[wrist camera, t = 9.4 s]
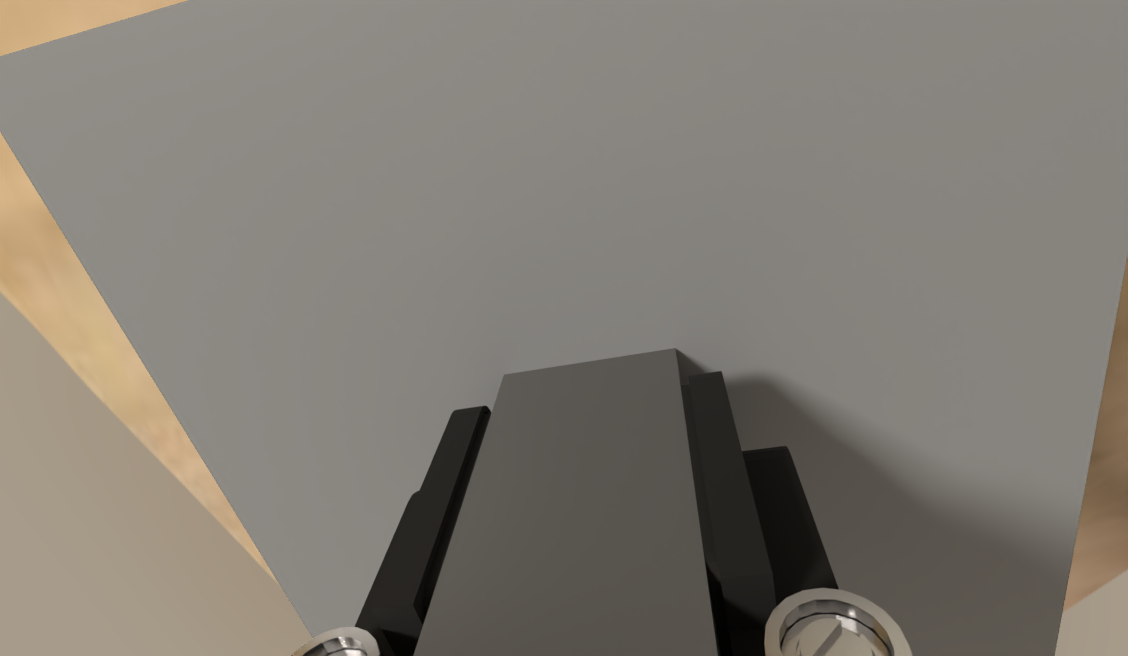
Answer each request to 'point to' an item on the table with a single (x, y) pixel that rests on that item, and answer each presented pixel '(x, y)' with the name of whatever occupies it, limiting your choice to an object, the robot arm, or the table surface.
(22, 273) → the table surface
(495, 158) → the grey knobbed cube
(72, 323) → the table surface
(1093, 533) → the table surface
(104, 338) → the table surface
